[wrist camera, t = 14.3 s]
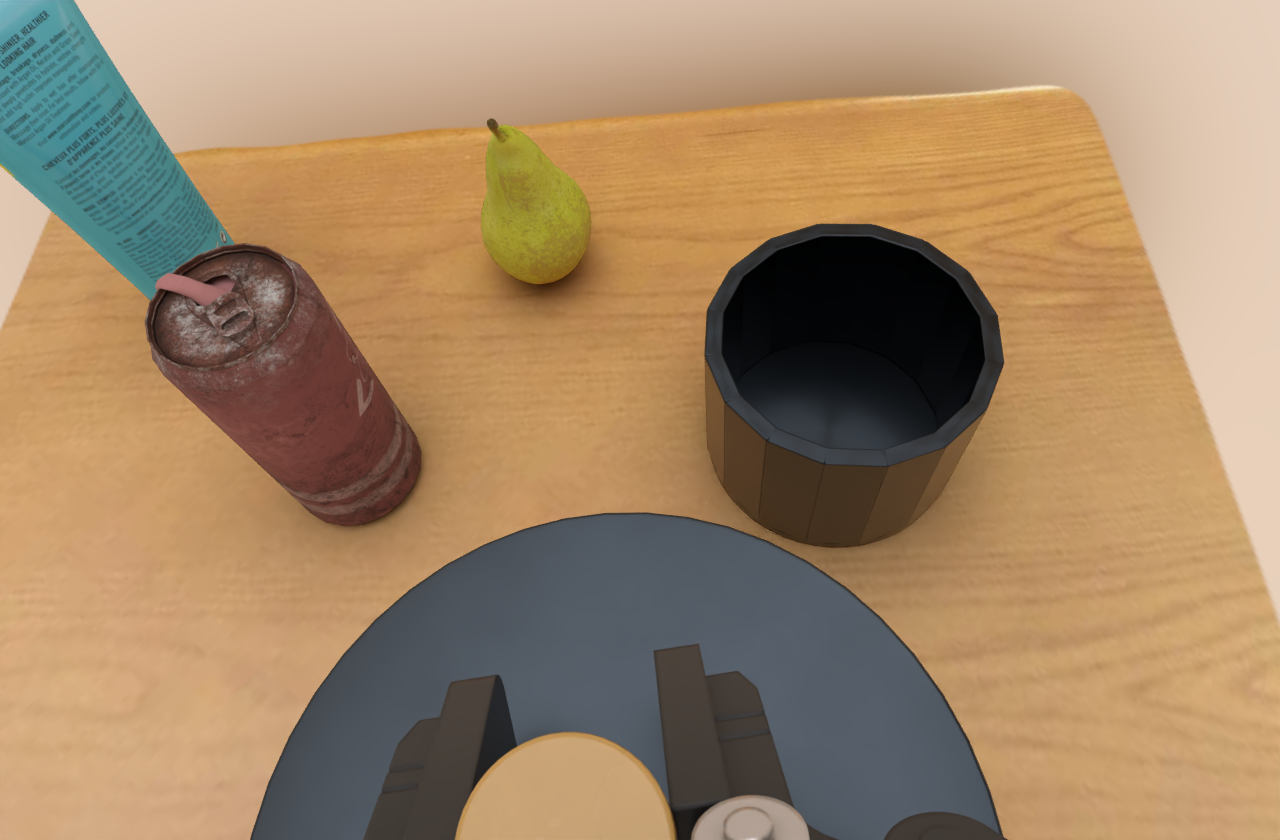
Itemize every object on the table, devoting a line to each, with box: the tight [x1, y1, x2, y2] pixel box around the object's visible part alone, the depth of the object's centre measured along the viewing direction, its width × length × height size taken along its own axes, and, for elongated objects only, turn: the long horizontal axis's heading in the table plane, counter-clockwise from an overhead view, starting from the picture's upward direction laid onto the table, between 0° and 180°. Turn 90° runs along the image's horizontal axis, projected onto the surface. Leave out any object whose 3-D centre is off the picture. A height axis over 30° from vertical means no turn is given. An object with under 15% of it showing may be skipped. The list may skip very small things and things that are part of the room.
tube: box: [0, 0, 235, 300], centre depth 40 cm, size 7×5×19 cm, turn 157°
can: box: [145, 243, 421, 526], centre depth 37 cm, size 6×6×14 cm
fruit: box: [481, 119, 591, 284], centre depth 43 cm, size 6×6×12 cm
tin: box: [705, 224, 1004, 547], centre depth 38 cm, size 11×11×8 cm
